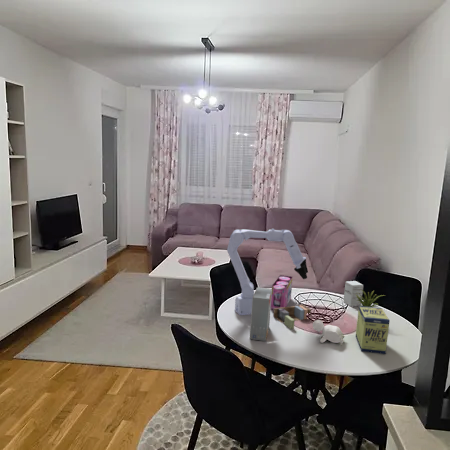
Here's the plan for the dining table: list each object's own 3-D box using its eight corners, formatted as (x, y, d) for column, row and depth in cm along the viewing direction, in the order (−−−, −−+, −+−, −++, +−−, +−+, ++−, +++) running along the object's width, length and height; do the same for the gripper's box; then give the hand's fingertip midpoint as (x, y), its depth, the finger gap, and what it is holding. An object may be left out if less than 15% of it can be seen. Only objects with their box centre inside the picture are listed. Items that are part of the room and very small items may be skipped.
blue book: (300, 319, 209) (301, 310, 208) (294, 315, 214) (294, 306, 213) (303, 319, 210) (304, 310, 209) (297, 314, 215) (297, 305, 214)
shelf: (281, 323, 204) (281, 313, 203) (273, 317, 212) (274, 307, 211) (310, 319, 211) (310, 309, 210) (301, 314, 218) (302, 303, 217)
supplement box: (342, 302, 239) (345, 281, 237) (353, 301, 242) (356, 280, 239) (350, 306, 232) (352, 285, 230) (361, 305, 235) (363, 284, 232)
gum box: (283, 313, 218) (285, 288, 216) (268, 310, 221) (270, 286, 218) (291, 298, 241) (293, 276, 238) (277, 296, 243) (279, 274, 241)
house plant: (378, 316, 220) (381, 287, 217) (385, 327, 206) (389, 296, 204) (351, 314, 221) (354, 285, 218) (356, 324, 208) (359, 293, 205)
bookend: (283, 321, 205) (284, 313, 204) (277, 317, 211) (278, 308, 210) (288, 321, 206) (289, 312, 205) (282, 316, 212) (283, 308, 211)
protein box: (361, 351, 179) (365, 318, 176) (354, 336, 194) (358, 305, 191) (386, 354, 178) (390, 320, 175) (377, 338, 193) (381, 307, 190)
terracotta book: (304, 319, 210) (304, 309, 209) (297, 314, 215) (298, 305, 214) (307, 318, 210) (307, 309, 210) (300, 314, 216) (301, 305, 215)
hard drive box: (266, 342, 184) (269, 299, 180) (249, 339, 185) (251, 297, 182) (269, 327, 199) (272, 288, 195) (253, 325, 200) (256, 286, 197)
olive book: (290, 330, 197) (291, 320, 196) (284, 325, 203) (284, 315, 202) (293, 329, 198) (294, 320, 197) (287, 324, 203) (288, 315, 202)
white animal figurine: (339, 344, 191) (309, 327, 195) (347, 330, 189) (318, 313, 193) (337, 352, 184) (307, 335, 187) (346, 337, 181) (315, 319, 185)
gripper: (301, 254, 201) (312, 278, 203) (303, 245, 215) (313, 268, 217) (287, 259, 204) (299, 283, 205) (290, 250, 217) (301, 272, 219)
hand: (305, 275), depth 211 cm, fingers open, 7 cm apart
